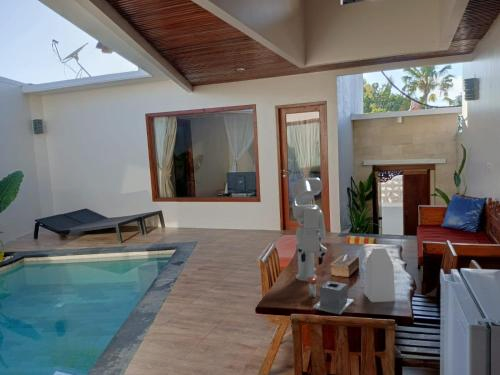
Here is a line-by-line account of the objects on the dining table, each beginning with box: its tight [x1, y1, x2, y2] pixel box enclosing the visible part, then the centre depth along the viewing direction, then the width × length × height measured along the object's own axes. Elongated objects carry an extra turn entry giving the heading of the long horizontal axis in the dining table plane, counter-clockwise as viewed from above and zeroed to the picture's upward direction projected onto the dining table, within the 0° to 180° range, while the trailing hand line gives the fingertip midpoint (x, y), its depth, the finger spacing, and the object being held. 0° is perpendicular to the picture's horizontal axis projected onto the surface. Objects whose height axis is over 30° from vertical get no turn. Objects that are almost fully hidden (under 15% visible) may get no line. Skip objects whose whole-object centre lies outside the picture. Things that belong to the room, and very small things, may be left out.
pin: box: [306, 277, 319, 298], centre depth 207 cm, size 6×6×10 cm
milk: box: [363, 247, 396, 303], centre depth 201 cm, size 12×12×26 cm
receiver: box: [312, 280, 355, 316], centre depth 194 cm, size 18×14×10 cm
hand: (311, 262), depth 205 cm, fingers open, 9 cm apart
